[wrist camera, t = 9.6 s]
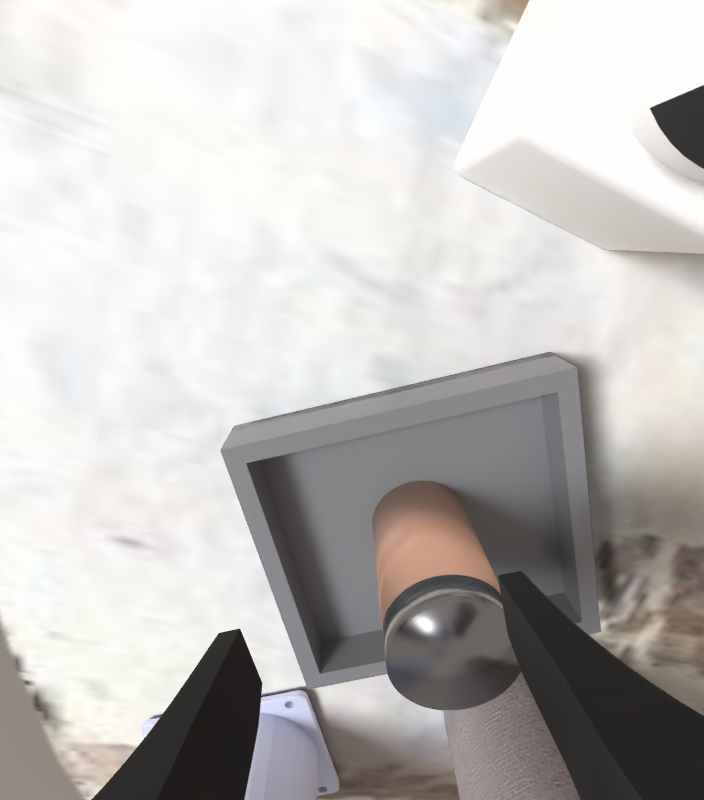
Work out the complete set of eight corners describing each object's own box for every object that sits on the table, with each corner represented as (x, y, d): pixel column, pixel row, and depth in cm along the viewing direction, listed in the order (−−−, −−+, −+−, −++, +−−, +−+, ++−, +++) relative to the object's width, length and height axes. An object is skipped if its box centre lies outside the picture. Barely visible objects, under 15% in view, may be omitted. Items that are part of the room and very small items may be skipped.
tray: (311, 646, 25) (308, 689, 23) (234, 425, 21) (220, 449, 19) (575, 593, 24) (600, 631, 22) (549, 351, 20) (577, 367, 18)
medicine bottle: (720, 60, 17) (1506, -314, 5) (606, 252, 19) (1005, 274, 7) (548, -44, 16) (1076, -775, 4) (448, 172, 18) (632, 56, 6)
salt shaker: (384, 570, 23) (403, 721, 16) (361, 494, 21) (371, 621, 14) (474, 550, 23) (533, 695, 15) (456, 470, 21) (514, 590, 14)
